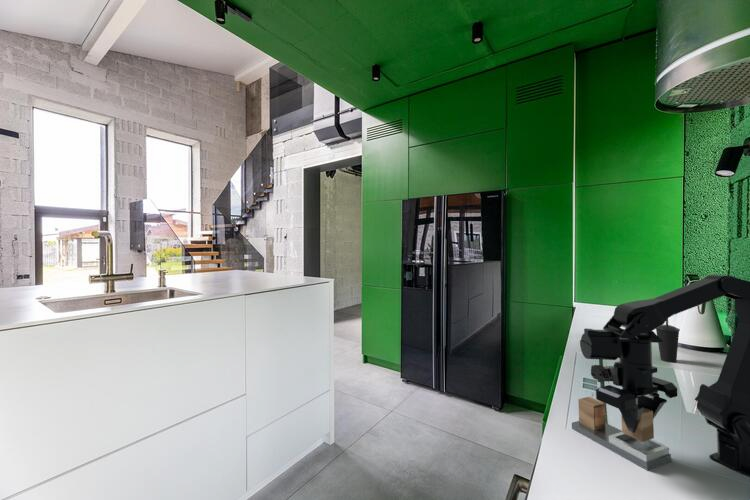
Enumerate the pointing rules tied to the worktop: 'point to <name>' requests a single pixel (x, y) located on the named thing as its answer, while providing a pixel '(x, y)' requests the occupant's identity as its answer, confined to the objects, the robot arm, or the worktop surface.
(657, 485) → the worktop surface
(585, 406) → the brown wooden block
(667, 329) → the drinking cup
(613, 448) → the grey base plate
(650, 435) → the tan wooden block
